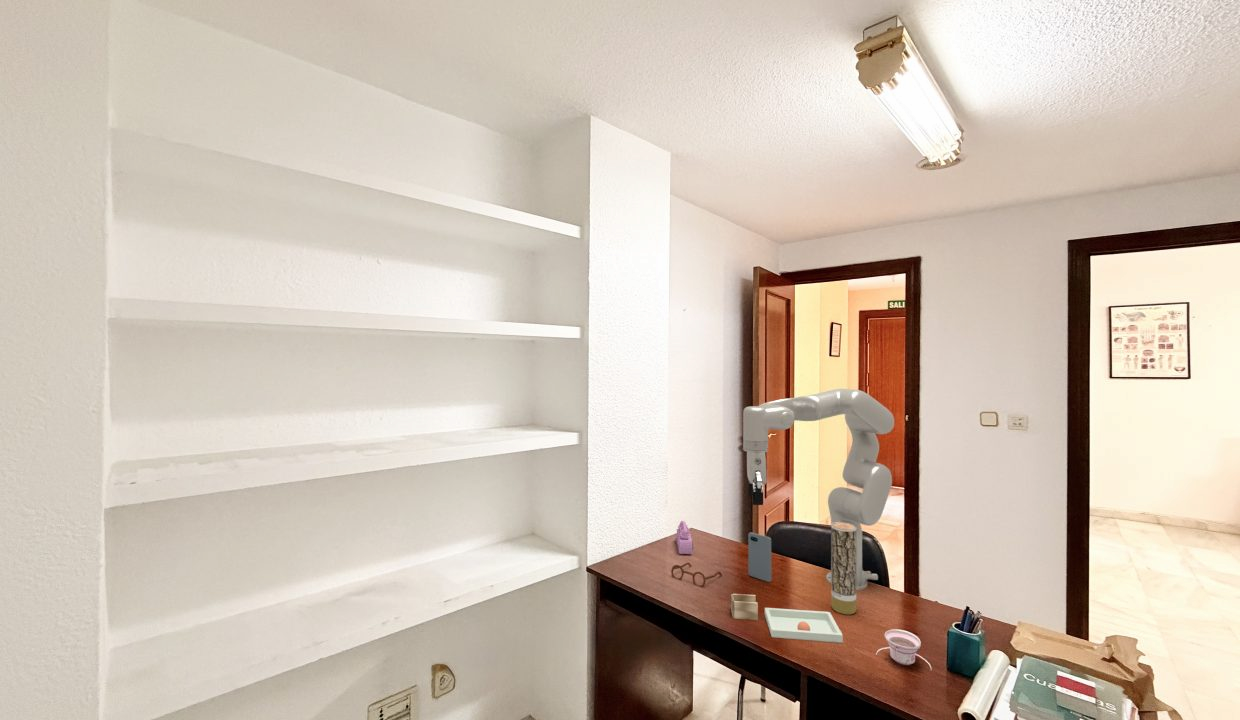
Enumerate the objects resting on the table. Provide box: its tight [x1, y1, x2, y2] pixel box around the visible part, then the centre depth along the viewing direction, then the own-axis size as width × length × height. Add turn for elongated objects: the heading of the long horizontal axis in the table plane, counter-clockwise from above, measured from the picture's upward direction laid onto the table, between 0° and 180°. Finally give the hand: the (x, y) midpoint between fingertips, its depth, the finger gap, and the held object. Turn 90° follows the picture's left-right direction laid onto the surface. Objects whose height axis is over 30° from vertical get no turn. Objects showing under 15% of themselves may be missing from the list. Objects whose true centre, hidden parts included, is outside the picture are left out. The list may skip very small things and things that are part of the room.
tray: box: [764, 607, 844, 644], centre depth 136 cm, size 18×12×2 cm, turn 82°
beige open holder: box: [730, 593, 759, 621], centre depth 143 cm, size 7×5×5 cm
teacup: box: [875, 628, 932, 670], centre depth 121 cm, size 12×12×6 cm
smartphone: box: [747, 532, 772, 583], centre depth 168 cm, size 8×1×15 cm, turn 47°
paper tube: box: [830, 522, 857, 616], centre depth 147 cm, size 7×7×25 cm
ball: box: [797, 622, 810, 631], centre depth 133 cm, size 3×3×3 cm
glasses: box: [670, 562, 723, 588], centre depth 170 cm, size 13×13×5 cm
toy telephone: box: [673, 520, 694, 555], centre depth 197 cm, size 18×6×10 cm, turn 178°
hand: (755, 500), depth 155 cm, fingers open, 9 cm apart
